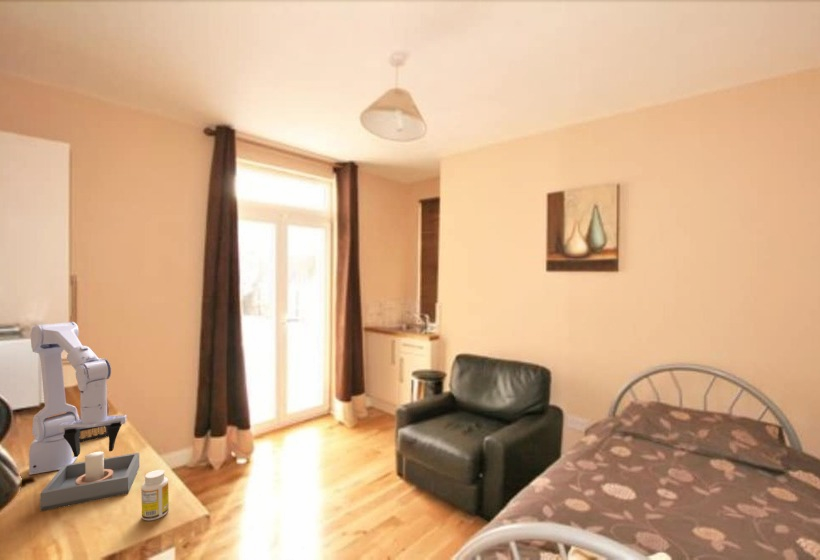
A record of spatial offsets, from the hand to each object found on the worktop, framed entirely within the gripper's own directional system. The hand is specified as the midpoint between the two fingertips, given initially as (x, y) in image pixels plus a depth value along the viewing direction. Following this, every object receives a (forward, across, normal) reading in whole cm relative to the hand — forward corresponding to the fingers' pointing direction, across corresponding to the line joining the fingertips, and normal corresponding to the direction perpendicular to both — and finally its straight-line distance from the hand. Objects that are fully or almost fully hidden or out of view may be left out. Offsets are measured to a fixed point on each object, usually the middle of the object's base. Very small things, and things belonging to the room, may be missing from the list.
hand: (94, 452), depth 109 cm
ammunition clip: (+10, -10, +39) cm, 42 cm away
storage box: (+9, 0, -1) cm, 9 cm away
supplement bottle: (+9, +17, -23) cm, 30 cm away
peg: (+8, 0, -1) cm, 8 cm away
